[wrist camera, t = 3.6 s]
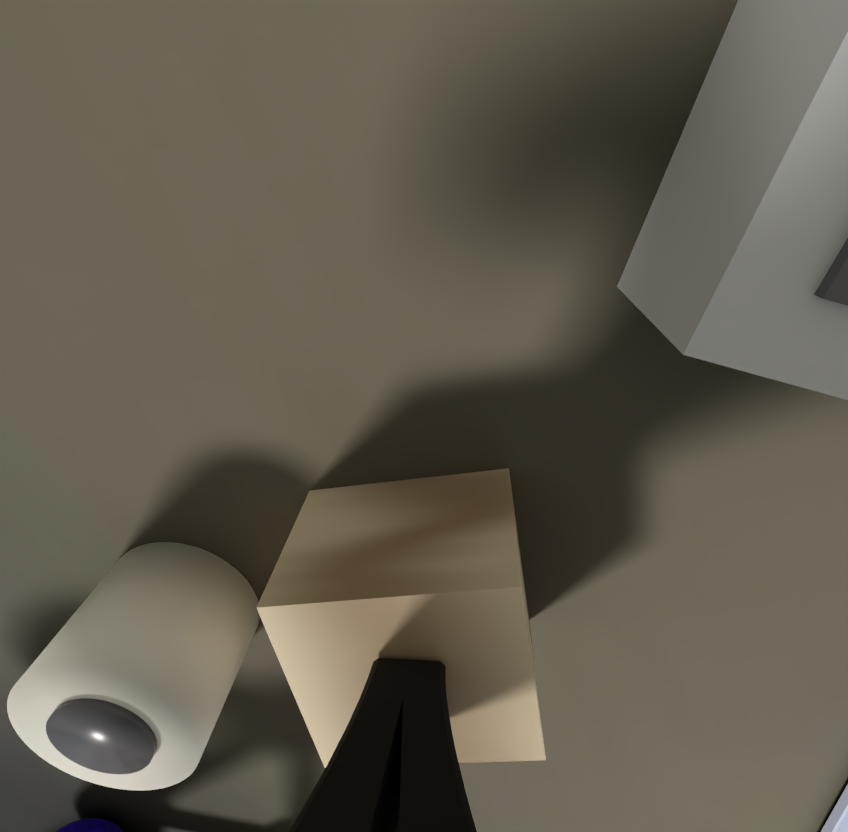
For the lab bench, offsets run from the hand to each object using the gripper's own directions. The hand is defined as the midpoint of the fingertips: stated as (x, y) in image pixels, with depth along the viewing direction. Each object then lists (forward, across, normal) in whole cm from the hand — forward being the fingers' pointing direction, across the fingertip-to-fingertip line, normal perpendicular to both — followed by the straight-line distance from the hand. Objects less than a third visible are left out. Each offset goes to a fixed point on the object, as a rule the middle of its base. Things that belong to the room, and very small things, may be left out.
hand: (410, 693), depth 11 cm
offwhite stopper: (+4, +7, +2) cm, 8 cm away
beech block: (+4, 0, 0) cm, 4 cm away
